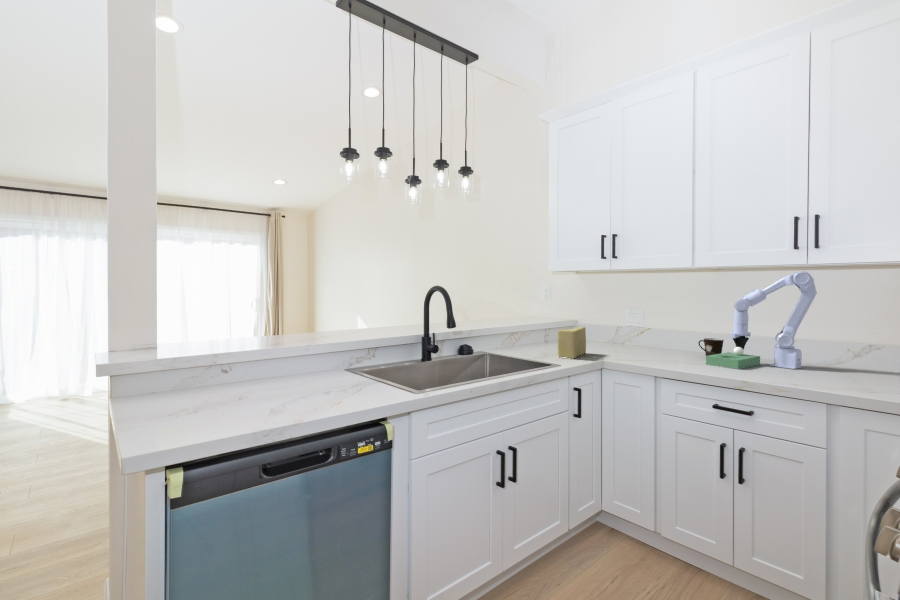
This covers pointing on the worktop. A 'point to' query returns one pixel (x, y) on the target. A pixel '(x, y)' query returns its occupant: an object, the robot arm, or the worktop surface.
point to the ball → (738, 351)
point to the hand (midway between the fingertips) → (740, 351)
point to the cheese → (571, 342)
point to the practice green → (733, 360)
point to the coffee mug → (712, 346)
